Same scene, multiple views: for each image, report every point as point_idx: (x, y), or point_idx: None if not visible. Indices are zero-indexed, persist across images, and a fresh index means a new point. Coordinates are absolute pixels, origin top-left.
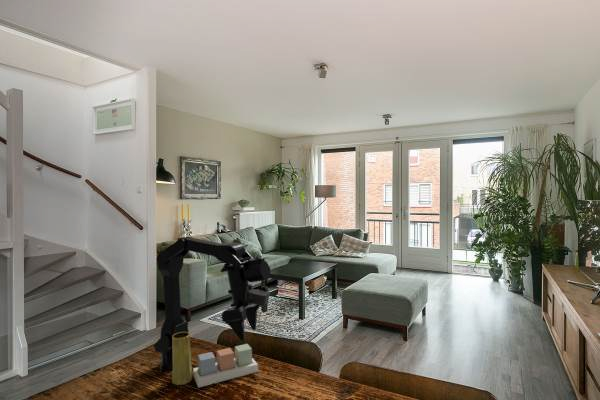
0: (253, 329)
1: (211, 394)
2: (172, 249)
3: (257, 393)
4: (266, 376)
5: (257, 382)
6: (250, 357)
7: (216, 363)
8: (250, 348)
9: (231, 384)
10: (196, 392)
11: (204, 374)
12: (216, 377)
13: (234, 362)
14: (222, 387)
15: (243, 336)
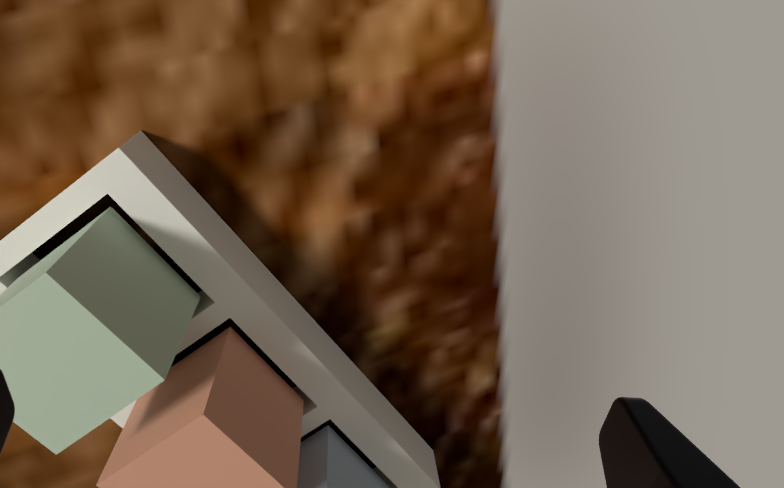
0: (10, 399)
1: (502, 352)
2: None
3: (482, 39)
4: (206, 27)
5: (319, 85)
6: (98, 244)
7: None
8: (47, 287)
9: (372, 275)
10: (483, 438)
11: (377, 482)
12: (366, 398)
13: None
14: (417, 319)
15: (705, 462)
